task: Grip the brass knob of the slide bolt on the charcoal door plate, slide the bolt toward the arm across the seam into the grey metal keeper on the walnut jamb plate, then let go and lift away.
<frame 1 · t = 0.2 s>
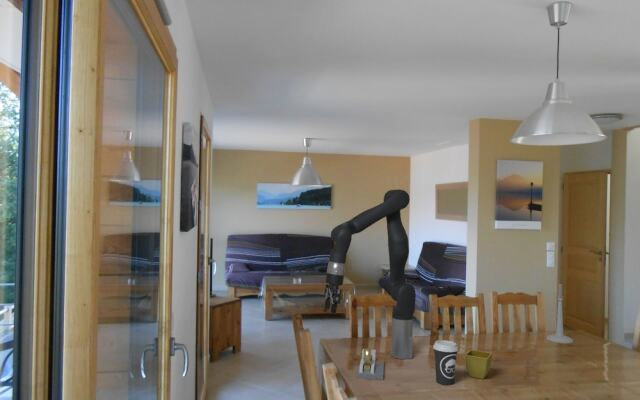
hand: (329, 311, 203), 22 cm above the table, tool pointing down, fingers open, 8 cm apart
coffee cup: (444, 382, 184), on the table
flower pot: (478, 377, 191), on the table
brass bolt: (367, 357, 194), point 6 cm above the table, slide at 0.0 cm
door and jamb plate: (367, 369, 196), on the table
candlestick: (559, 340, 252), on the table
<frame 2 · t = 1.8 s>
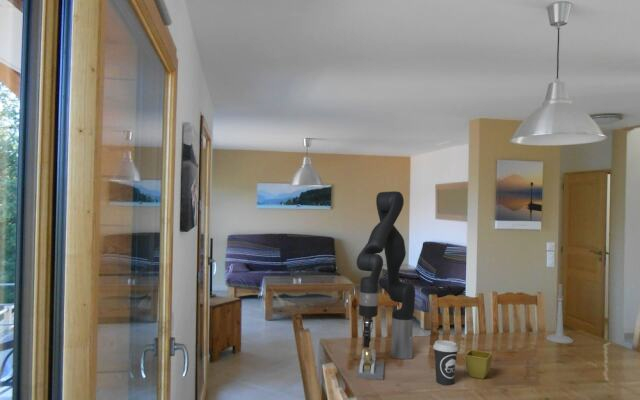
hand: (367, 344, 191), 12 cm above the table, tool pointing down, fingers open, 8 cm apart
nothing on the table moved.
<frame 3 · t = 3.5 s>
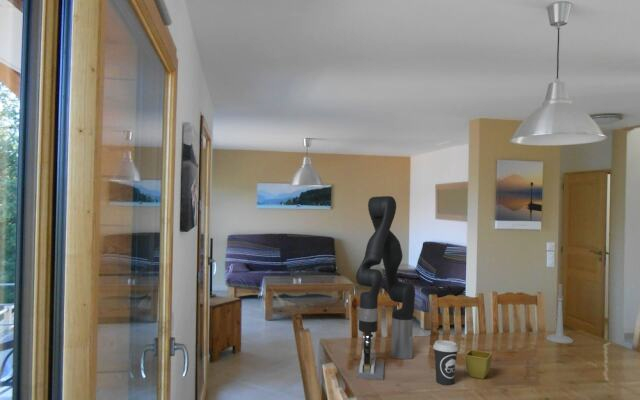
hand: (367, 361, 191), 5 cm above the table, tool pointing down, fingers closed on brass bolt, 3 cm apart
brass bolt: (367, 357, 194), point 6 cm above the table, slide at 0.0 cm, touching gripper
everything else where it was.
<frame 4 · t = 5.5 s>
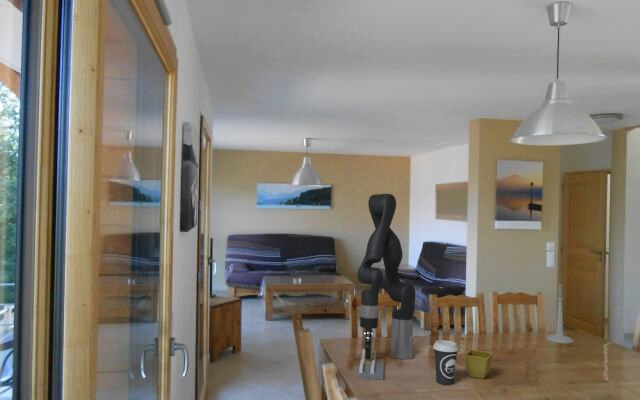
hand: (368, 357, 198), 5 cm above the table, tool pointing down, fingers closed on brass bolt, 3 cm apart
brass bolt: (368, 353, 200), point 6 cm above the table, slide at 6.4 cm, touching gripper
everything else where it was.
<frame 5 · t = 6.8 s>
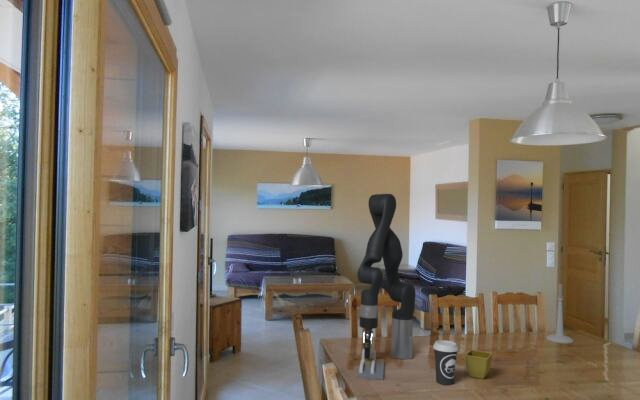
hand: (367, 355, 197), 5 cm above the table, tool pointing down, fingers open, 7 cm apart
brass bolt: (368, 353, 200), point 6 cm above the table, slide at 6.4 cm
everything else where it was.
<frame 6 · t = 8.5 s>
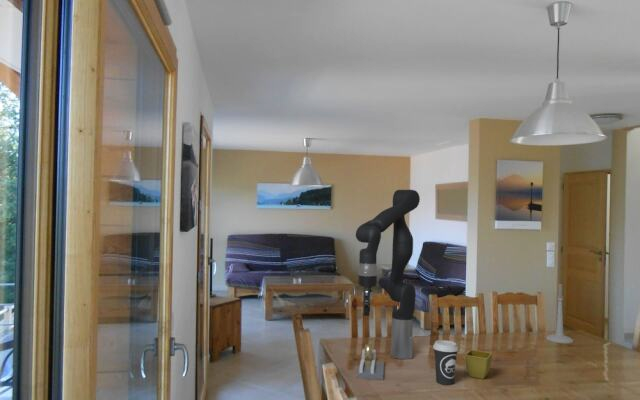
hand: (366, 313, 198), 23 cm above the table, tool pointing down, fingers open, 8 cm apart
nothing on the table moved.
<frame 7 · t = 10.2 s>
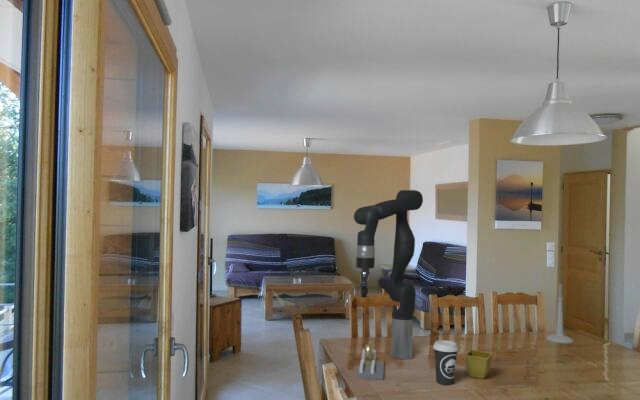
hand: (364, 295, 197), 30 cm above the table, tool pointing down, fingers open, 8 cm apart
nothing on the table moved.
at the end: brass bolt slide at 6.4 cm; the gripper is holding nothing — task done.
